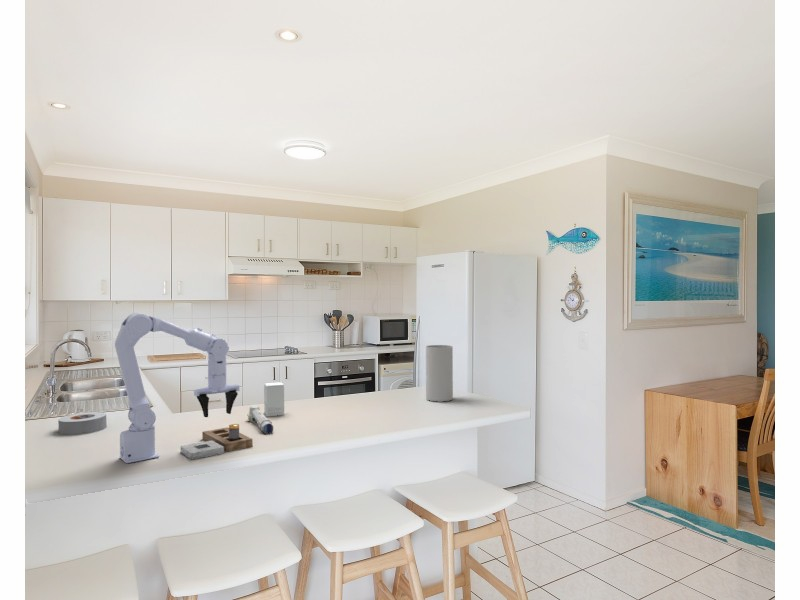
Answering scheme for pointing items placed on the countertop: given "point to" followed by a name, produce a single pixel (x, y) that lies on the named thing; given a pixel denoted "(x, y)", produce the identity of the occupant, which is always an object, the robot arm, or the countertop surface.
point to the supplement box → (274, 399)
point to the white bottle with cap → (259, 419)
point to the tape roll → (82, 423)
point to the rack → (227, 439)
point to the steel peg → (233, 432)
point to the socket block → (202, 449)
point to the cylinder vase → (439, 373)
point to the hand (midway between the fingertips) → (217, 415)
